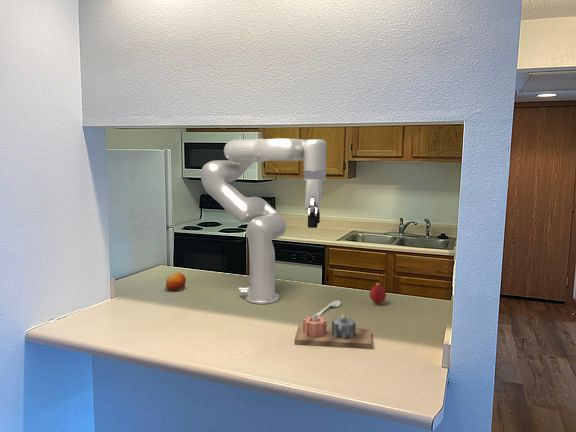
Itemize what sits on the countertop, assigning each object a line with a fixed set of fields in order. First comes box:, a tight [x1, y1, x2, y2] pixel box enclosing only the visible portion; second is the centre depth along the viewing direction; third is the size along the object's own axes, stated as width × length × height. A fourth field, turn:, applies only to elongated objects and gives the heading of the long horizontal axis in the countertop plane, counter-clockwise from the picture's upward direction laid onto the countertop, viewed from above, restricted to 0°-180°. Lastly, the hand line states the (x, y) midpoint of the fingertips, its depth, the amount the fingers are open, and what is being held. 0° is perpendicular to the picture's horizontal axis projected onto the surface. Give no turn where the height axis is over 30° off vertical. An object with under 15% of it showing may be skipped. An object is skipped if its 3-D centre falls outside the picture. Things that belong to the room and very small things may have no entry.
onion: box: [369, 282, 387, 305], centre depth 165 cm, size 6×6×8 cm
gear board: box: [293, 313, 373, 350], centre depth 134 cm, size 22×11×8 cm, turn 82°
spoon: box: [314, 300, 342, 317], centre depth 159 cm, size 4×21×2 cm, turn 145°
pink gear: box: [302, 316, 328, 337], centre depth 135 cm, size 7×7×4 cm
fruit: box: [165, 272, 187, 292], centre depth 183 cm, size 8×8×8 cm
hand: (313, 225), depth 157 cm, fingers open, 9 cm apart
